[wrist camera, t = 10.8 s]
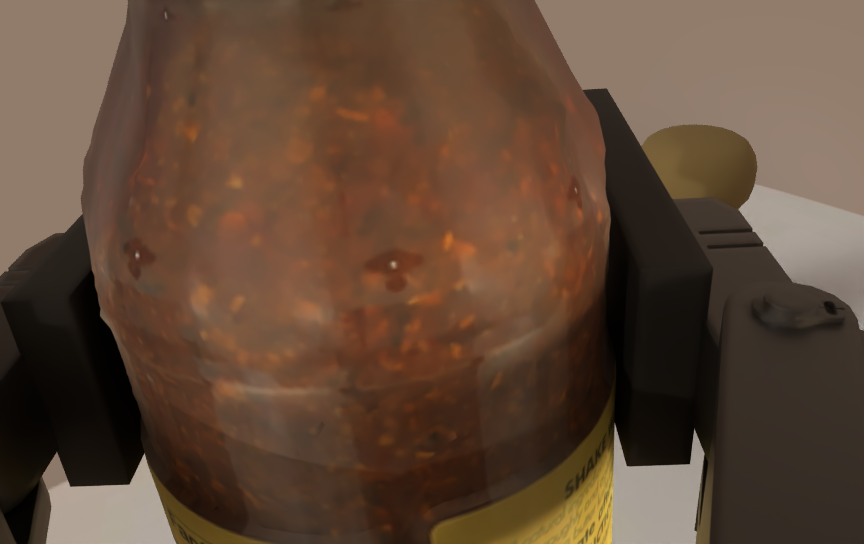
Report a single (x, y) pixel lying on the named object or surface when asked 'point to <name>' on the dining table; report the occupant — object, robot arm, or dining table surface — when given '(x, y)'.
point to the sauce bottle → (358, 271)
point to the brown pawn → (703, 163)
